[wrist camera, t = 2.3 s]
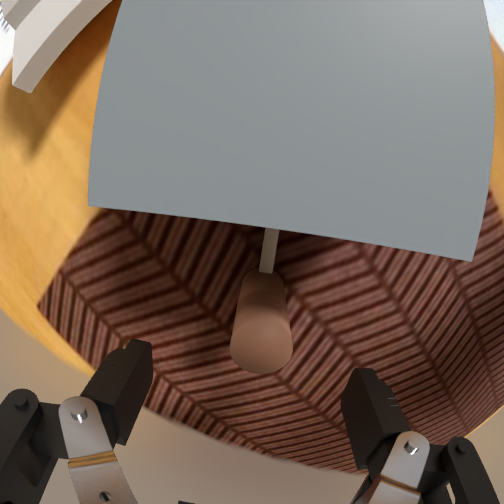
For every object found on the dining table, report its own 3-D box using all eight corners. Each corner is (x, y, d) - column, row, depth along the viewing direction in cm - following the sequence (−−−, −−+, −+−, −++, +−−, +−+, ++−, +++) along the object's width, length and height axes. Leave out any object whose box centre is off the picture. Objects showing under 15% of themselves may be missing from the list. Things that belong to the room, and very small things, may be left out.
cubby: (381, 34, 14) (469, -45, 3) (363, 204, 17) (471, 261, 7) (215, 6, 14) (173, -104, 3) (187, 178, 17) (88, 205, 7)
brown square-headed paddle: (335, 65, 15) (372, 19, 8) (295, 310, 20) (308, 378, 13) (254, 52, 15) (249, -4, 8) (222, 300, 20) (204, 365, 13)
